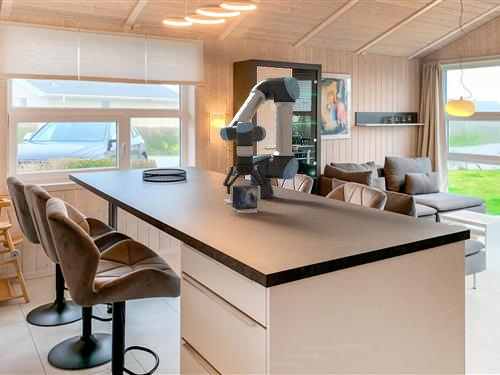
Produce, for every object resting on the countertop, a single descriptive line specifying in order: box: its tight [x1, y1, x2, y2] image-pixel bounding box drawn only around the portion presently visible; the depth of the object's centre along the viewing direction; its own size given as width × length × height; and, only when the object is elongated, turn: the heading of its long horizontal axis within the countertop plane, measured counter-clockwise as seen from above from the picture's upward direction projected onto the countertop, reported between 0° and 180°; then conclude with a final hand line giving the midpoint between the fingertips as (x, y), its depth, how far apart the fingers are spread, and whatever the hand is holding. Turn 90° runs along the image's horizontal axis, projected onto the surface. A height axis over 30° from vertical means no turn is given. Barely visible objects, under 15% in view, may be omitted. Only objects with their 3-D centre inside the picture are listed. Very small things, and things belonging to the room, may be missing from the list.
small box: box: [231, 184, 258, 209], centre depth 224 cm, size 11×6×10 cm, turn 116°
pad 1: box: [222, 198, 233, 205], centre depth 246 cm, size 9×10×1 cm
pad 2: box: [231, 206, 258, 214], centre depth 224 cm, size 9×14×1 cm, turn 15°
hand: (244, 200), depth 224 cm, fingers open, 13 cm apart
